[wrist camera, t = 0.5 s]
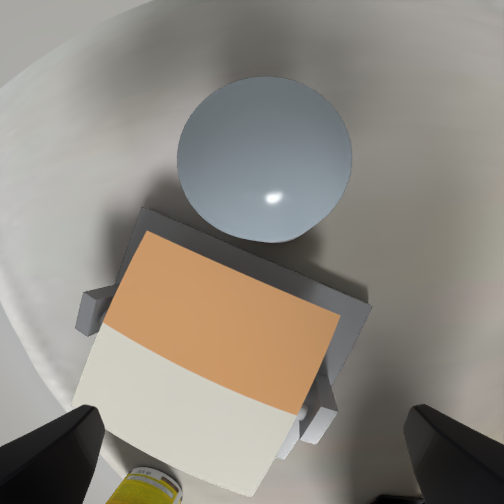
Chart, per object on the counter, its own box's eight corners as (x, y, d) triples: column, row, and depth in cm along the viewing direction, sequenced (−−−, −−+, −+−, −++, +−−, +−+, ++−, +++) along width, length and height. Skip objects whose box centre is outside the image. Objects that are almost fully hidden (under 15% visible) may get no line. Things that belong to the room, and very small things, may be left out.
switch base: (368, 303, 18) (396, 324, 13) (284, 452, 19) (281, 500, 14) (148, 208, 20) (105, 198, 15) (100, 364, 21) (59, 389, 15)
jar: (328, 183, 19) (372, 111, 8) (298, 255, 19) (312, 270, 8) (255, 154, 19) (219, 60, 8) (225, 224, 19) (151, 201, 9)
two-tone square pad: (341, 322, 16) (352, 320, 14) (262, 485, 14) (263, 501, 12) (147, 237, 18) (136, 225, 16) (78, 393, 15) (62, 398, 13)
